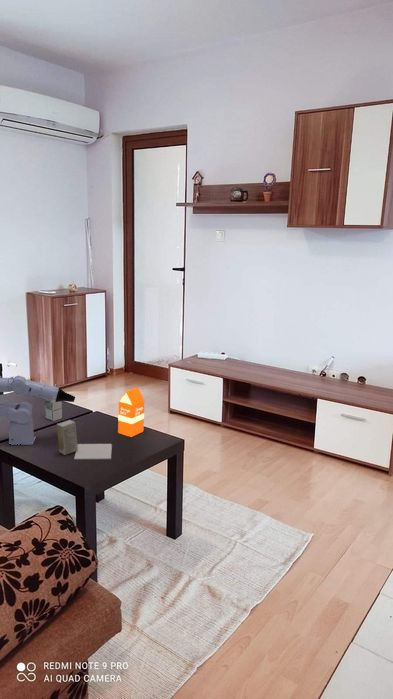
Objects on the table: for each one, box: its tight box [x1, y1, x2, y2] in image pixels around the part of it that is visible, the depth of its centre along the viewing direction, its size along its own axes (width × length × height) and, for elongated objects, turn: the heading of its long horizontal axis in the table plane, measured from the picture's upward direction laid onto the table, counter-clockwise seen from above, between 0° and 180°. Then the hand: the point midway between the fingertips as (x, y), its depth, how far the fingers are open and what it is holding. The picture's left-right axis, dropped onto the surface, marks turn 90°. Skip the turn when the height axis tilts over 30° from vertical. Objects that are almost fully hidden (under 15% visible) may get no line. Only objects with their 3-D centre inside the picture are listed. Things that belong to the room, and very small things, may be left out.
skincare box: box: [56, 419, 78, 456], centre depth 201 cm, size 6×4×12 cm
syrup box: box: [44, 387, 63, 422], centre depth 236 cm, size 6×6×14 cm
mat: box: [73, 443, 113, 460], centre depth 204 cm, size 14×14×1 cm
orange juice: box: [117, 387, 145, 438], centre depth 224 cm, size 8×9×20 cm
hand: (74, 399), depth 211 cm, fingers open, 7 cm apart
